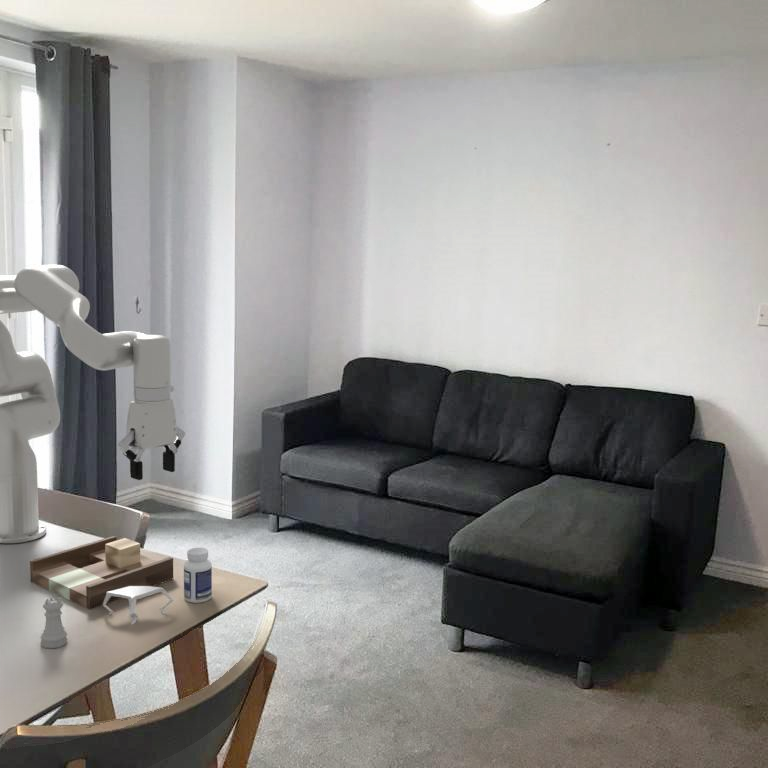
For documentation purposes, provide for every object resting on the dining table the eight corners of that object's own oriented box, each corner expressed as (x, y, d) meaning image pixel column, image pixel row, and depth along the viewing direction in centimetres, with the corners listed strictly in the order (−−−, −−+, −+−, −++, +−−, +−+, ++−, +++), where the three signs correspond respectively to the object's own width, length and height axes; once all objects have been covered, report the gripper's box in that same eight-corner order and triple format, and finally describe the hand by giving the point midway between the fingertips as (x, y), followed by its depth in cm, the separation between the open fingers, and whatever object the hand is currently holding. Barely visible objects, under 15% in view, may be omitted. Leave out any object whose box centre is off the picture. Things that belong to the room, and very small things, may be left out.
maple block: (105, 562, 180) (105, 544, 179) (125, 555, 184) (125, 537, 183) (120, 568, 177) (120, 549, 176) (140, 561, 181) (140, 543, 180)
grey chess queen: (40, 651, 147) (39, 607, 145) (39, 639, 151) (38, 596, 149) (68, 647, 148) (67, 603, 147) (66, 636, 153) (65, 593, 151)
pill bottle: (215, 593, 173) (215, 547, 171) (207, 604, 167) (207, 556, 166) (189, 591, 173) (188, 545, 172) (180, 602, 168) (179, 554, 166)
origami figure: (113, 631, 155) (112, 605, 154) (102, 613, 162) (101, 588, 162) (178, 617, 161) (178, 593, 161) (164, 601, 169) (164, 577, 168)
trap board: (30, 581, 175) (30, 560, 174) (113, 555, 191) (113, 535, 190) (89, 609, 163) (89, 587, 162) (173, 578, 179) (173, 558, 178)
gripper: (173, 386, 190) (173, 463, 193) (105, 396, 176) (107, 479, 179) (196, 391, 186) (196, 470, 189) (128, 401, 172) (130, 486, 175)
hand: (153, 474), depth 184 cm, fingers open, 7 cm apart
